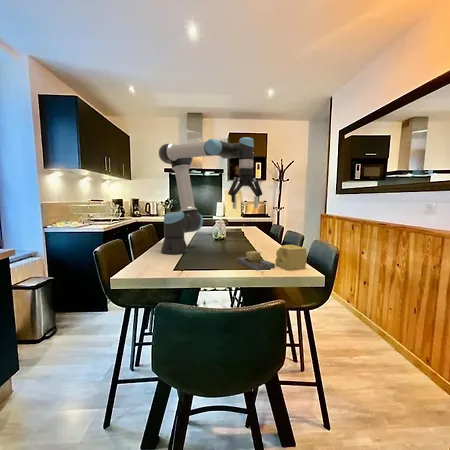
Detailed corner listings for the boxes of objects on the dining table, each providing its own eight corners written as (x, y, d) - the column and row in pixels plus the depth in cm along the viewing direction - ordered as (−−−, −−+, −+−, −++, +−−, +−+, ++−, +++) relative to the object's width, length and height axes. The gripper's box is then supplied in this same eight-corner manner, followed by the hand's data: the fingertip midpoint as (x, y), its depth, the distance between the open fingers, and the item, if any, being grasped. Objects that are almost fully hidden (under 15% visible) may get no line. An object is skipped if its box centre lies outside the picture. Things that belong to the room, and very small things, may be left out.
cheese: (275, 265, 135) (275, 245, 134) (293, 263, 140) (294, 244, 138) (287, 271, 126) (288, 249, 125) (307, 268, 130) (307, 247, 129)
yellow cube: (246, 263, 139) (246, 251, 138) (254, 262, 141) (254, 250, 140) (251, 265, 134) (251, 253, 134) (260, 264, 137) (260, 252, 136)
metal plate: (236, 261, 142) (237, 257, 142) (253, 259, 146) (253, 255, 146) (257, 270, 126) (257, 265, 126) (274, 267, 131) (274, 263, 130)
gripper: (229, 166, 138) (228, 209, 140) (269, 168, 149) (268, 208, 152) (222, 167, 144) (221, 208, 147) (261, 169, 156) (260, 207, 158)
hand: (245, 208), depth 149 cm, fingers open, 13 cm apart
